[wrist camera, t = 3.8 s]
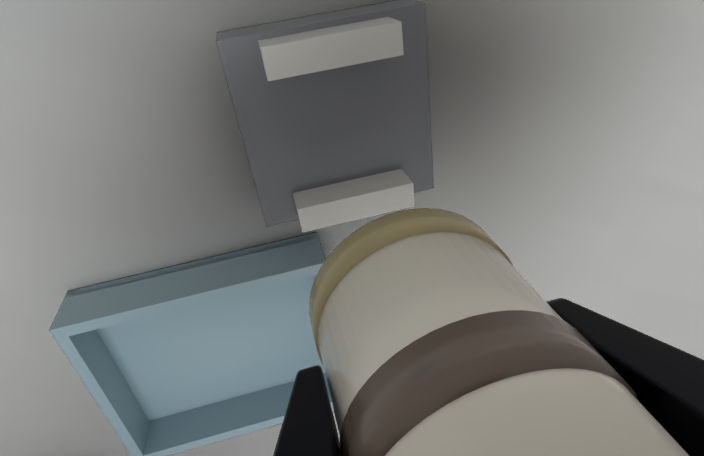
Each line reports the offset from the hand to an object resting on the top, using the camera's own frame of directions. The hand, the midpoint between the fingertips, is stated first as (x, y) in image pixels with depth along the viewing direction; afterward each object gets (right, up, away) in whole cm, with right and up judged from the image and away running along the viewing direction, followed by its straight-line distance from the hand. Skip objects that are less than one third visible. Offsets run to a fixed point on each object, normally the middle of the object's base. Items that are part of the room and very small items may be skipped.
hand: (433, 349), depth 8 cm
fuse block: (-2, +7, +10) cm, 13 cm away
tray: (-8, -3, +15) cm, 17 cm away
